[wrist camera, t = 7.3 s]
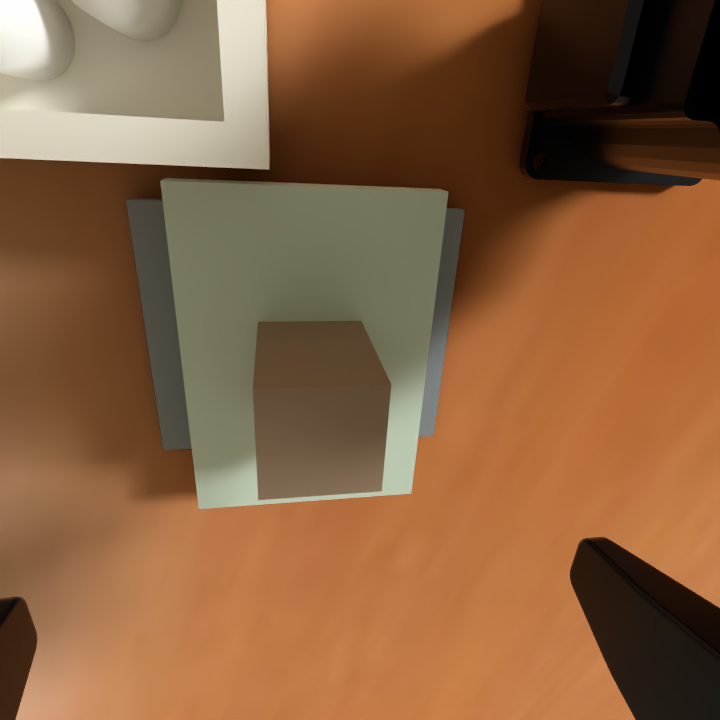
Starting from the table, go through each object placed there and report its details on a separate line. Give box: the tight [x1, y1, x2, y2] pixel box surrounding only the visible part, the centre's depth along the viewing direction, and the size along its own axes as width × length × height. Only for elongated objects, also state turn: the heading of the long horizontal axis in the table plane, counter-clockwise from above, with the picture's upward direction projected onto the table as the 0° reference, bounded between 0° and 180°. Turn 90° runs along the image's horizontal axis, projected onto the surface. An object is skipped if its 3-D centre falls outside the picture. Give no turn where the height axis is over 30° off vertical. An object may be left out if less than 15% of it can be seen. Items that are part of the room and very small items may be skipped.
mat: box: [126, 198, 465, 450], centre depth 16 cm, size 10×8×1 cm
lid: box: [160, 178, 449, 509], centre depth 14 cm, size 10×7×6 cm
